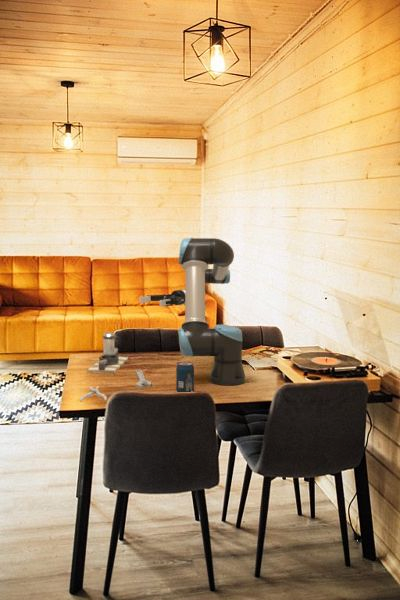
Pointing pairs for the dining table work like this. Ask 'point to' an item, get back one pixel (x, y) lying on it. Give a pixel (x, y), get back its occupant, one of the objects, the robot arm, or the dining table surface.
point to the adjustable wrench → (142, 380)
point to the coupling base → (108, 364)
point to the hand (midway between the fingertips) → (149, 301)
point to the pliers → (94, 390)
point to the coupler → (108, 345)
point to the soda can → (185, 377)
